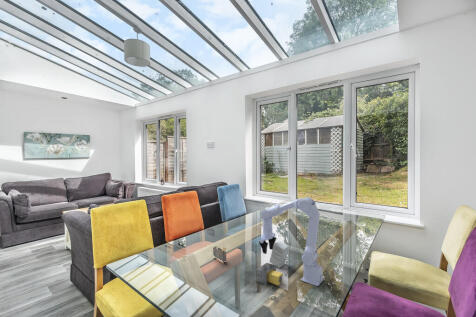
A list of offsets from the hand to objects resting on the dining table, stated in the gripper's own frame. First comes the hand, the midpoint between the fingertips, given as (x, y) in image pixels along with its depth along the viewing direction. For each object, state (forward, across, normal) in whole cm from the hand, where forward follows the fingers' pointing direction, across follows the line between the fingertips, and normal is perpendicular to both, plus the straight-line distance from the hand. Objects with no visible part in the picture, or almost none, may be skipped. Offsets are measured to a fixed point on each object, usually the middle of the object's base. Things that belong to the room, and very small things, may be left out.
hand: (268, 251), depth 135 cm
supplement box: (+9, -6, +2) cm, 11 cm away
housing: (+10, +12, +6) cm, 17 cm away
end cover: (+10, +12, +10) cm, 18 cm away
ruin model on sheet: (+10, +11, -31) cm, 34 cm away
